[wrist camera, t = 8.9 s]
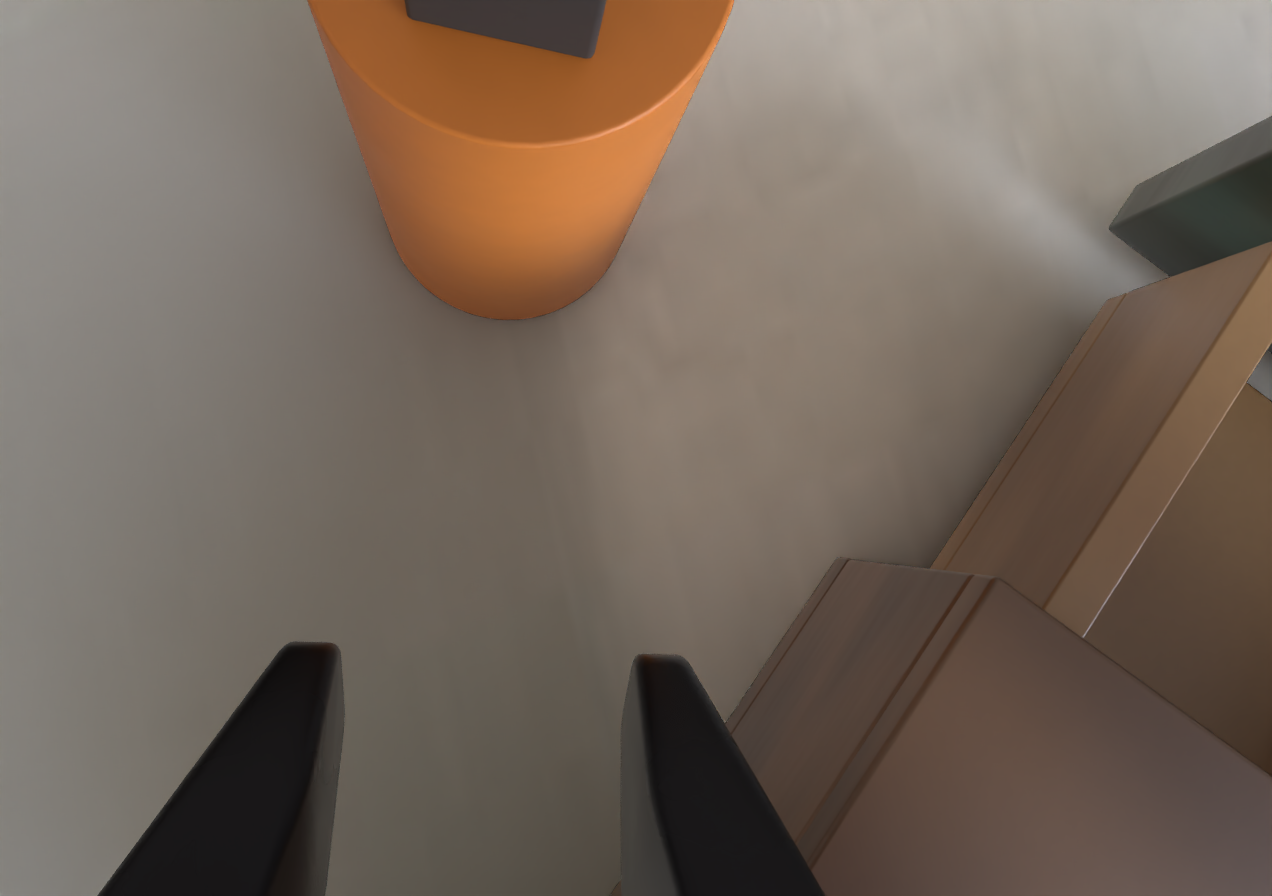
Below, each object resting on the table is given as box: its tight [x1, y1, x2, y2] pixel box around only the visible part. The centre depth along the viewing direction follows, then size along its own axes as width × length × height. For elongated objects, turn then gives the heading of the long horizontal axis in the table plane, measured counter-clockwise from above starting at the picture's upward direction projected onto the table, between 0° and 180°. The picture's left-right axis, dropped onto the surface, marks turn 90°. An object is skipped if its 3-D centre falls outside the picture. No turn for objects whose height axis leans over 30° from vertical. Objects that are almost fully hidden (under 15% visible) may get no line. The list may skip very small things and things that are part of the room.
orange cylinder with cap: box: [307, 0, 734, 320], centre depth 17 cm, size 5×5×13 cm
